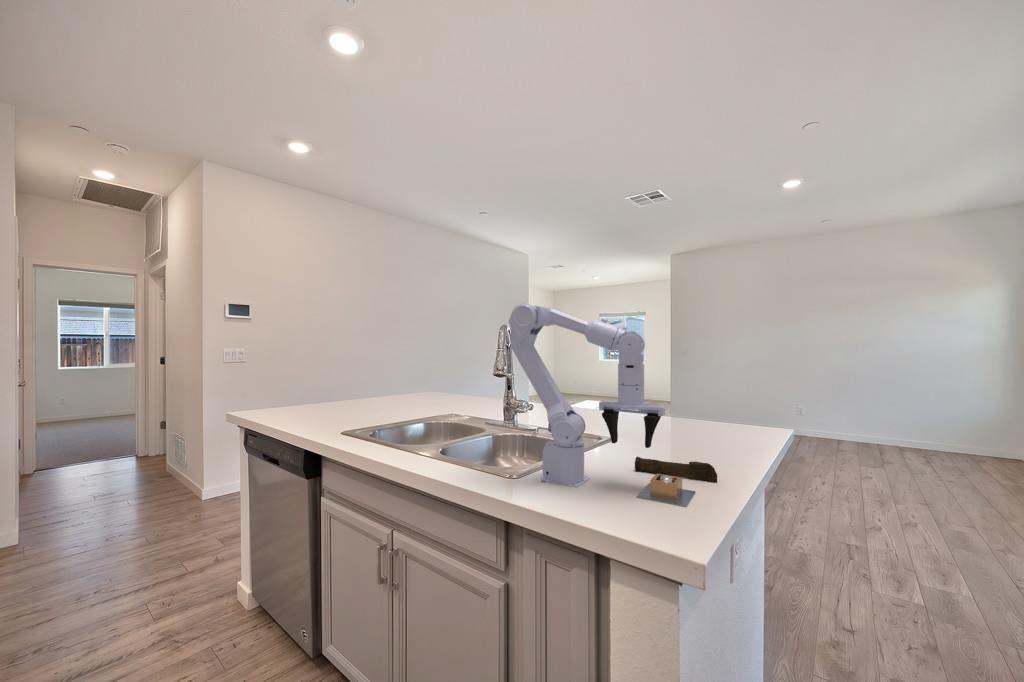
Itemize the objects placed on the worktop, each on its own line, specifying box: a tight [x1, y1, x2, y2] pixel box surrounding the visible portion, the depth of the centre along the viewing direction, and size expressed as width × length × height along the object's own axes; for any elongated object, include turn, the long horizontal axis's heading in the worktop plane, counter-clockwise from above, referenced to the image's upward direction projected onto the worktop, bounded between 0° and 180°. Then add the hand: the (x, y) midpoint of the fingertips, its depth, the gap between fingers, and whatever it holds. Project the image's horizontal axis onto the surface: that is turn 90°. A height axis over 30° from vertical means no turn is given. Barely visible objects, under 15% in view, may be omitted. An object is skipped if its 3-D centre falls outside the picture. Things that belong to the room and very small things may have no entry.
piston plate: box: [635, 475, 696, 508], centre depth 92 cm, size 10×10×4 cm
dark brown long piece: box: [634, 456, 718, 484], centre depth 105 cm, size 19×4×5 cm, turn 57°
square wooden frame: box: [649, 473, 683, 500], centre depth 92 cm, size 5×5×3 cm
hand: (630, 444), depth 97 cm, fingers open, 7 cm apart
